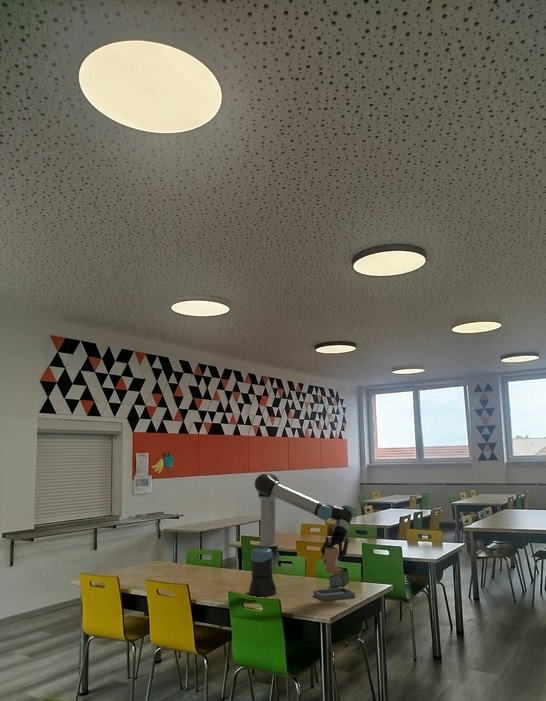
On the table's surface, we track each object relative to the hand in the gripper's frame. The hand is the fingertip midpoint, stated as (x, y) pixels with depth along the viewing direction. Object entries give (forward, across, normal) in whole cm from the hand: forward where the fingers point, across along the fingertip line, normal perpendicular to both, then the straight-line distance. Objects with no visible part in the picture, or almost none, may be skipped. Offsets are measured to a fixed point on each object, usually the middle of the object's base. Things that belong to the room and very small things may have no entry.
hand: (329, 564), depth 296 cm
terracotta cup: (0, 0, -5) cm, 5 cm away
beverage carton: (-12, +12, -36) cm, 39 cm away
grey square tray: (+9, 0, -14) cm, 17 cm away
